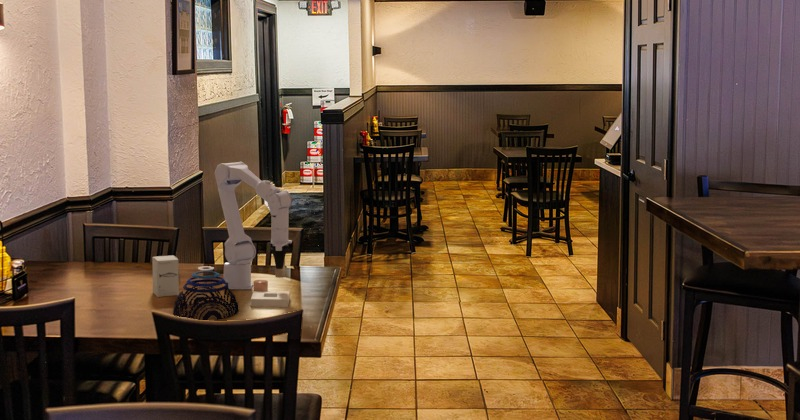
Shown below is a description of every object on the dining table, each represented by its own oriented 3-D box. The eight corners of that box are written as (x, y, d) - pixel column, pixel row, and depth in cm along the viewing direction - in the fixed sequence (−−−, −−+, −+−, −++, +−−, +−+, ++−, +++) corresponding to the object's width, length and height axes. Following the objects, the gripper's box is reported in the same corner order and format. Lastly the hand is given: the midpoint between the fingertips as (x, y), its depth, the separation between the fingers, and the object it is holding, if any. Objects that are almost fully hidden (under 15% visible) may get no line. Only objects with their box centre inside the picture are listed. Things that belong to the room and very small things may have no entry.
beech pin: (275, 277, 290) (275, 254, 289) (275, 275, 294) (275, 252, 292) (284, 277, 291) (284, 254, 289) (285, 275, 294) (285, 252, 293)
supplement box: (157, 297, 289) (156, 260, 286) (152, 292, 295) (151, 256, 293) (179, 295, 292) (178, 259, 290) (174, 290, 298) (173, 254, 296)
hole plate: (250, 306, 281) (250, 299, 281) (253, 298, 291) (253, 291, 291) (287, 306, 282) (287, 299, 282) (289, 298, 292) (289, 291, 292)
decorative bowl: (179, 324, 261) (178, 277, 259) (168, 306, 279) (168, 263, 277) (244, 318, 269) (244, 273, 267) (230, 301, 287) (230, 259, 285)
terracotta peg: (252, 297, 292) (252, 283, 291) (254, 293, 297) (254, 279, 296) (267, 297, 293) (267, 283, 292) (268, 293, 297) (268, 279, 297)
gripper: (291, 232, 283) (290, 272, 285) (292, 223, 297) (292, 262, 299) (269, 231, 282) (269, 272, 284) (271, 223, 296) (271, 262, 298)
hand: (279, 267), depth 292 cm, fingers closed on beech pin, 3 cm apart
